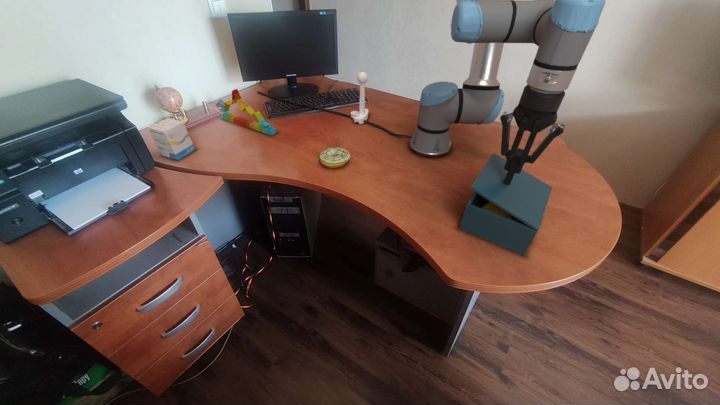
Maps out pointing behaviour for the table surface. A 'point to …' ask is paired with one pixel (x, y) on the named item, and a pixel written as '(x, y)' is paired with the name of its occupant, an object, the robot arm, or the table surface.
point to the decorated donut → (334, 157)
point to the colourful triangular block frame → (261, 126)
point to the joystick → (361, 100)
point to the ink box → (172, 138)
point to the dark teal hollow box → (496, 226)
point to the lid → (513, 192)
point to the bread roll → (498, 211)
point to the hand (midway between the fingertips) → (507, 181)
